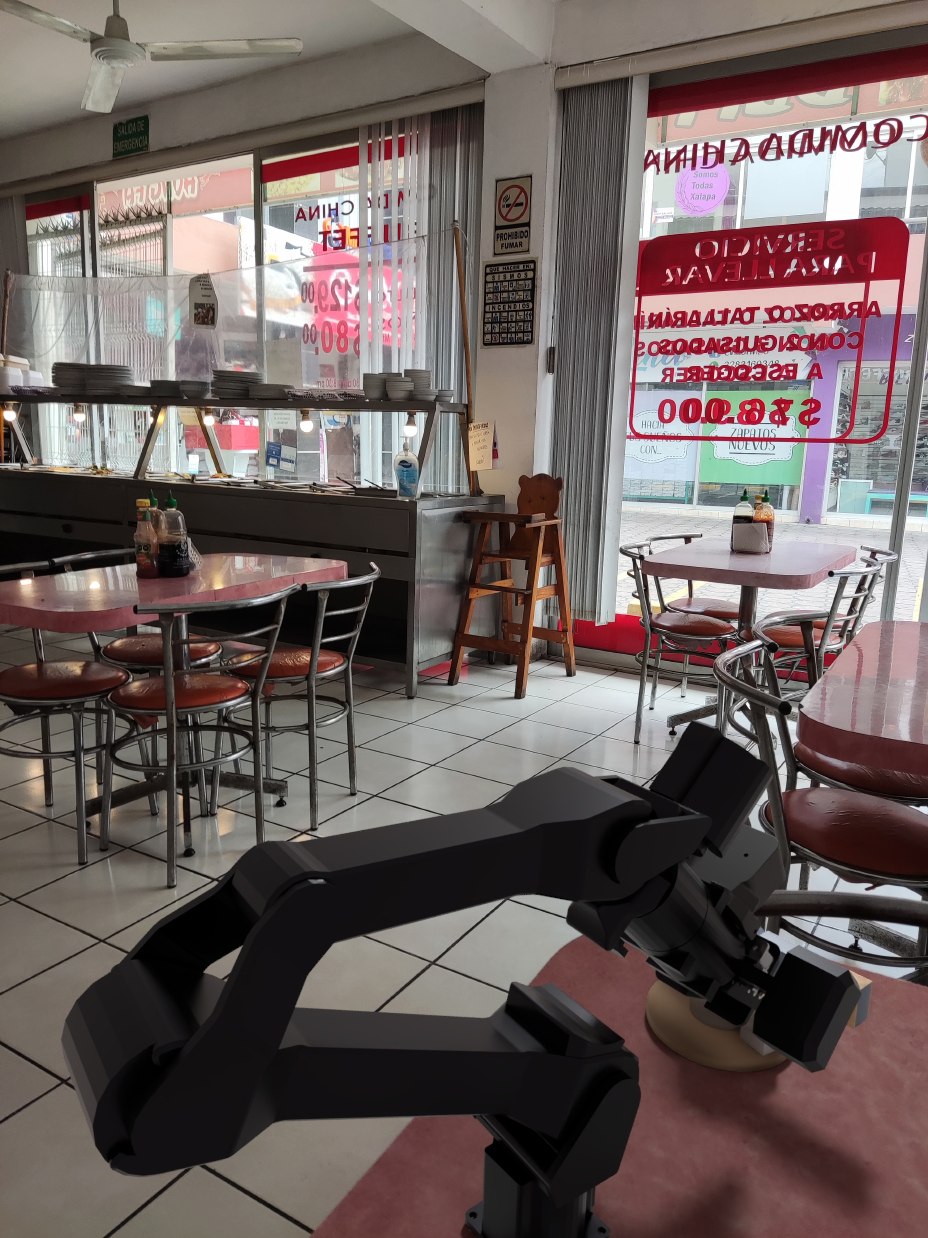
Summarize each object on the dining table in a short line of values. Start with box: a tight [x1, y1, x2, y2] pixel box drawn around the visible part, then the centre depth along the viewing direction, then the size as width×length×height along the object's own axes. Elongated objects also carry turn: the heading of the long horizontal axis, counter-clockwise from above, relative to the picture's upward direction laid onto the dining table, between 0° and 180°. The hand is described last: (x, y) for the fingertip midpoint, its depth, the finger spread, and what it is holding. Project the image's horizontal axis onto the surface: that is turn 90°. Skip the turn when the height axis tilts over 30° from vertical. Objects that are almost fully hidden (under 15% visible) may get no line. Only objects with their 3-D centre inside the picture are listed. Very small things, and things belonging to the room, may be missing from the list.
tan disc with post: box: [645, 979, 788, 1073], centre depth 74 cm, size 12×12×6 cm
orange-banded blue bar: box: [757, 926, 873, 1030], centre depth 69 cm, size 14×6×3 cm, turn 39°
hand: (751, 1000), depth 65 cm, fingers closed
